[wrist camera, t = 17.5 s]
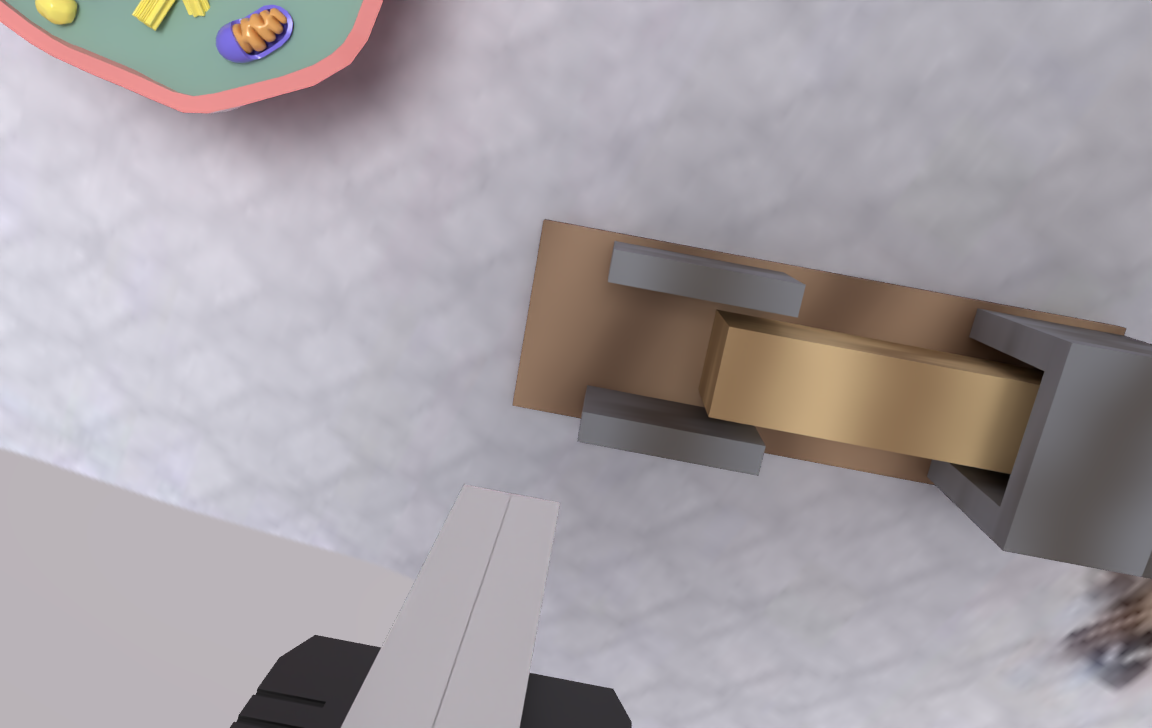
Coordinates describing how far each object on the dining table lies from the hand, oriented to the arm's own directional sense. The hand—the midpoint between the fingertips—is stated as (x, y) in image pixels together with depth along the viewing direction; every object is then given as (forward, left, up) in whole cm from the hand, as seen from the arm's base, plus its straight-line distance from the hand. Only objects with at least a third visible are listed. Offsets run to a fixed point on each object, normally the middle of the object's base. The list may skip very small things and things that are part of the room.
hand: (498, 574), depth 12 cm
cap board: (-10, 0, -22) cm, 25 cm away
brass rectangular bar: (-13, 0, -22) cm, 25 cm away
